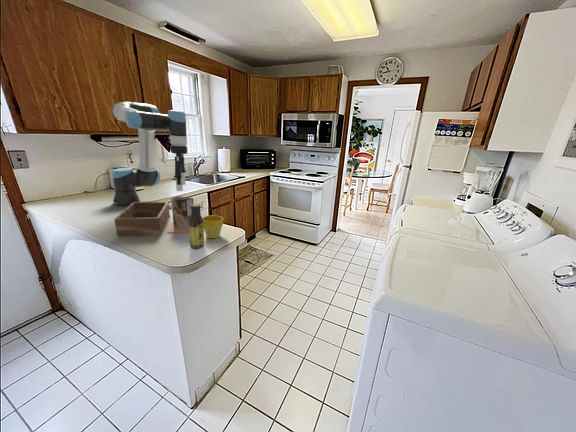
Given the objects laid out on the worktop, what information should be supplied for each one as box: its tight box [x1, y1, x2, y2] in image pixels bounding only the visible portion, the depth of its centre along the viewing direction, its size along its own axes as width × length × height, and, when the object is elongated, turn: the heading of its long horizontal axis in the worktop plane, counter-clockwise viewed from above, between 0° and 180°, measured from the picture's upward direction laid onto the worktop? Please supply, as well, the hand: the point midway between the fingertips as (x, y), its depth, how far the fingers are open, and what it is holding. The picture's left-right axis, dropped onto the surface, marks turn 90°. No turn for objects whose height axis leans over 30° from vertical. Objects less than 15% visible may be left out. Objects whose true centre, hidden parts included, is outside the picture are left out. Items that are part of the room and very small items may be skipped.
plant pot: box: [202, 214, 224, 239], centre depth 120 cm, size 10×10×10 cm
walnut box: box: [114, 201, 171, 238], centre depth 126 cm, size 28×18×9 cm, turn 17°
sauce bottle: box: [188, 203, 205, 250], centre depth 107 cm, size 6×6×20 cm
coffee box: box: [171, 195, 194, 230], centre depth 126 cm, size 9×6×16 cm
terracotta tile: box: [167, 221, 189, 234], centre depth 129 cm, size 14×14×1 cm
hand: (181, 187), depth 122 cm, fingers open, 13 cm apart
